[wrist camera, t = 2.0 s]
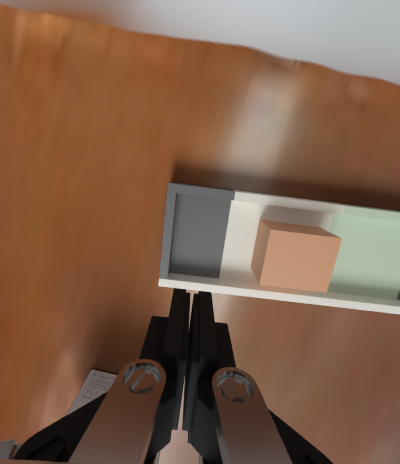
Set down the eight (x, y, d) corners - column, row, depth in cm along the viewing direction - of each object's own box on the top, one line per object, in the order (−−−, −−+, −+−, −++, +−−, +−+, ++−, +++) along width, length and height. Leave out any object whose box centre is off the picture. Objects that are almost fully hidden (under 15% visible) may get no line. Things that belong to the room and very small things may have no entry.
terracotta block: (319, 227, 24) (342, 238, 20) (307, 273, 25) (326, 292, 22) (259, 219, 24) (270, 229, 20) (250, 267, 25) (259, 284, 21)
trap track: (472, 220, 24) (495, 225, 22) (435, 309, 27) (453, 320, 25) (170, 181, 24) (167, 182, 22) (161, 277, 26) (158, 285, 24)
